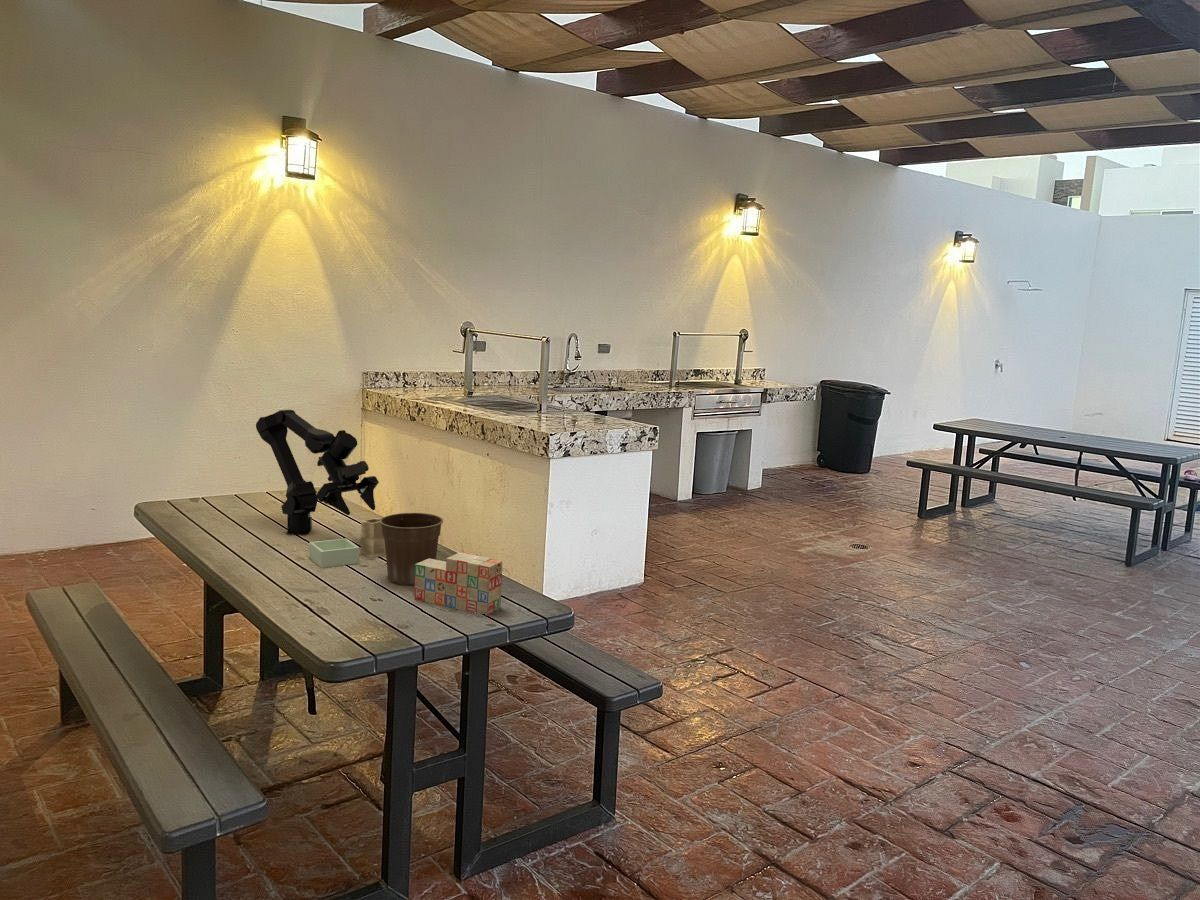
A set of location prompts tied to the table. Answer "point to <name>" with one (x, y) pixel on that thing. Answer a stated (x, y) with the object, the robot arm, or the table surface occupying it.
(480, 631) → the table surface
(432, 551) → the plant pot
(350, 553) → the sage crate
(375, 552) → the pine crate
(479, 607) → the stack of blocks
